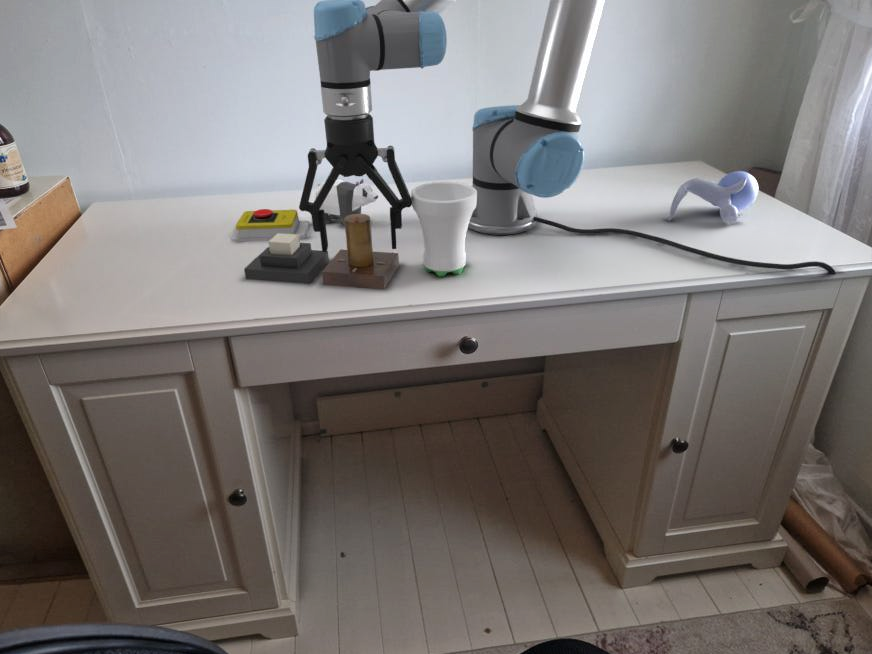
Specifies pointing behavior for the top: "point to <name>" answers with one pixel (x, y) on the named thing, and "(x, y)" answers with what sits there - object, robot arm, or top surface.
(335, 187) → the giant panda
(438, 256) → the cup
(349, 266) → the volume panel
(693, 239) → the top surface
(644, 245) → the top surface
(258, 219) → the emergency button
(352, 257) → the volume knob
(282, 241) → the cream square push button
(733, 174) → the seal
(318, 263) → the grey stepped base
